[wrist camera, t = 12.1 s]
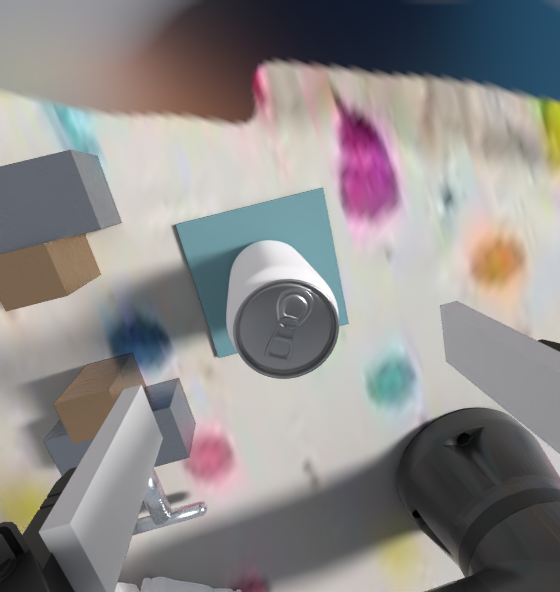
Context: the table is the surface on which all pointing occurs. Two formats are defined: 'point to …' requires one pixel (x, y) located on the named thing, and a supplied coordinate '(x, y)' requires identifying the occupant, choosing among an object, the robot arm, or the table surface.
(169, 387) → the vise
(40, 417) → the table surface
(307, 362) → the can
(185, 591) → the toy boat
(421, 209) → the table surface
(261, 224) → the mat
